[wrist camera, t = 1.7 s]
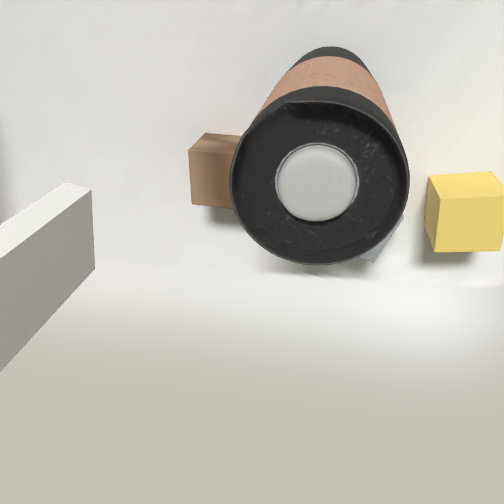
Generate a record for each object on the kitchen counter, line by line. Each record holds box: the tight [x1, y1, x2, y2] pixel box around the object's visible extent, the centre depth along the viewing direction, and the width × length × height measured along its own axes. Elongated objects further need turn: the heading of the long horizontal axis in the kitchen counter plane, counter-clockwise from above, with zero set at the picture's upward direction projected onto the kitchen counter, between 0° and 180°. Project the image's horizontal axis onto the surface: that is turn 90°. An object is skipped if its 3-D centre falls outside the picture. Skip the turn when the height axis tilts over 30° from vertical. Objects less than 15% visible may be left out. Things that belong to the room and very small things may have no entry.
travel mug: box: [229, 46, 410, 265], centre depth 24 cm, size 8×8×20 cm
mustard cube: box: [424, 172, 504, 252], centre depth 33 cm, size 5×5×5 cm
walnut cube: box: [188, 133, 242, 209], centre depth 35 cm, size 5×5×5 cm
